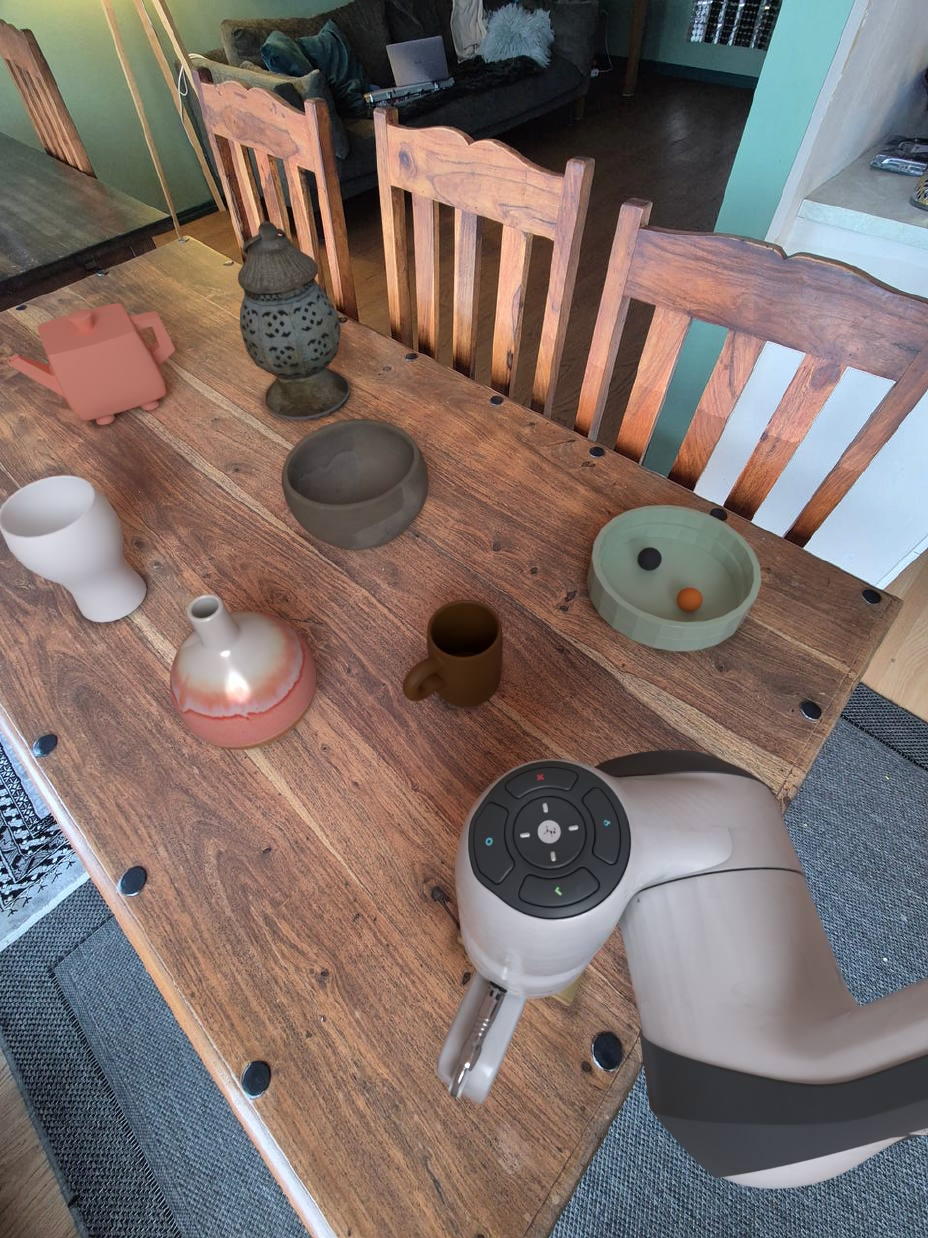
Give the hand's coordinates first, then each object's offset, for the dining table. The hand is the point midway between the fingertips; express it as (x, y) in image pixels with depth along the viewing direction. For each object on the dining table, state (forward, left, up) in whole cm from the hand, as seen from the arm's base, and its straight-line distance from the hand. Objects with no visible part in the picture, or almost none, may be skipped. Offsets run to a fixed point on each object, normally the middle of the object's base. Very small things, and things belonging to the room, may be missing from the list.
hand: (519, 955), depth 51 cm
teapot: (+90, -43, -2) cm, 100 cm away
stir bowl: (+1, -44, -2) cm, 44 cm away
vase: (+34, -9, -2) cm, 35 cm away
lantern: (+64, -58, -2) cm, 86 cm away
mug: (+17, -20, -2) cm, 26 cm away
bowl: (+40, -38, -2) cm, 55 cm away
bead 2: (-2, -42, -1) cm, 42 cm away
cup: (+60, -13, -2) cm, 61 cm away
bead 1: (+4, -46, -1) cm, 46 cm away
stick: (0, 0, -2) cm, 2 cm away
